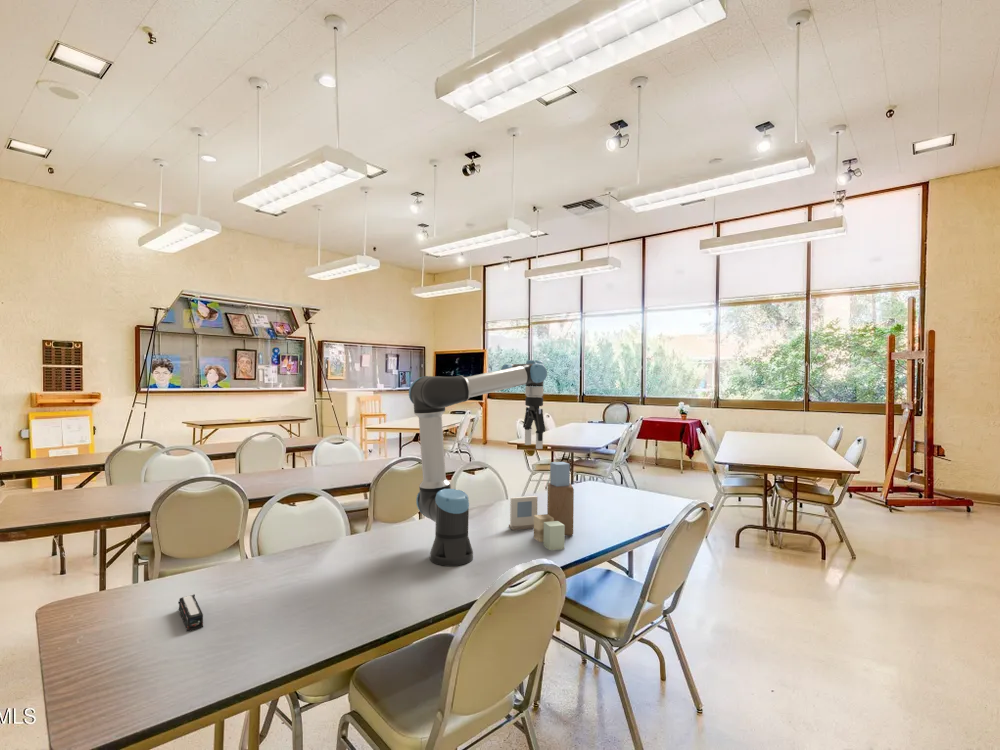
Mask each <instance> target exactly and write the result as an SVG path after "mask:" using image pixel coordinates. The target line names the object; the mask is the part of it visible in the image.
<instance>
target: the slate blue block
mask: <svg viewBox="0 0 1000 750" xmlns="http://www.w3.org/2000/svg"><path fill="white" fill-rule="evenodd" d="M570 464H571V463H568V462H566V461H552V462H550V467H549V469H550V472H549V473H550V475H549V477H550V478H549V483H550V484H552V485H554V486H556V487H558V486H570V484H571V480H570V475H571V473H570V472H571V471H570V466H571V465H570Z"/></svg>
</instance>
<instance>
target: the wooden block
mask: <svg viewBox="0 0 1000 750" xmlns="http://www.w3.org/2000/svg"><path fill="white" fill-rule="evenodd" d="M574 493H575V489H574V487H573V485H572V484H571V483H570V486H558V487H556V486H554V485H552V484H550V482H548V483H547V504H546V505H547V511H546V512H547V514H548V515H550V516H551V517H553V518H554V521H559V522H561V523H562V524H564V525H565V537H566V536H570V537H571V536H573V535H574V509H575V508H574V503H575V502H574V500H575V499H574V497H575V495H574Z"/></svg>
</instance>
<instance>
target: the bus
mask: <svg viewBox="0 0 1000 750" xmlns="http://www.w3.org/2000/svg"><path fill="white" fill-rule="evenodd" d="M177 604H178V612H179V614H180V617H181V618H182V622H183V624H184V628H185V629H186V633H187V632H193V631H196V630H200V629H204V614H203V611H202V610H201V607H200V605H199V604H198V602H197V600H196V596H195V593H194V594H192V595H188V596H183V597H180V598H179V600H178V603H177Z"/></svg>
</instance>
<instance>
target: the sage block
mask: <svg viewBox="0 0 1000 750" xmlns="http://www.w3.org/2000/svg"><path fill="white" fill-rule="evenodd" d="M565 538H566V536H565V525H564V524H562V523H561V522H559V521H550V522H544V542H543V547H545V548H546V549H548V550H549V551H556V550H557V551H558V550H559V551H560V550H565Z"/></svg>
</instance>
